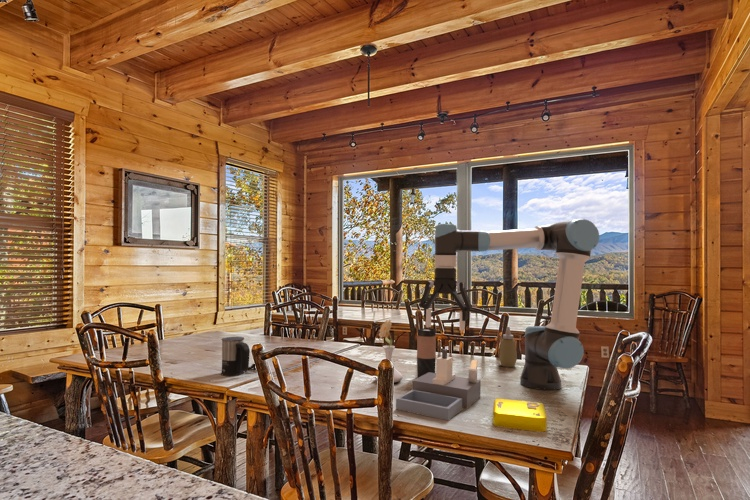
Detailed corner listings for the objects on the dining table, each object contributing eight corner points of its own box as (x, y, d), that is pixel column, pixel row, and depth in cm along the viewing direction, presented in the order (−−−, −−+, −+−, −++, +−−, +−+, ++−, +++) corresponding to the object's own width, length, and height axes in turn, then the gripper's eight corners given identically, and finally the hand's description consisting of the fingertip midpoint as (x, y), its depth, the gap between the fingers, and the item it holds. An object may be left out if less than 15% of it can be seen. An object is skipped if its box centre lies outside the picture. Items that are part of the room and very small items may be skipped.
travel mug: (434, 381, 177) (435, 331, 177) (415, 379, 178) (416, 330, 179) (436, 376, 184) (436, 328, 185) (417, 375, 186) (418, 327, 186)
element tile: (494, 411, 143) (494, 396, 143) (543, 416, 139) (543, 401, 139) (492, 427, 129) (492, 411, 129) (547, 434, 124) (547, 417, 124)
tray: (462, 409, 143) (462, 398, 143) (448, 420, 133) (448, 408, 133) (412, 399, 152) (412, 389, 152) (396, 409, 142) (396, 398, 142)
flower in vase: (374, 377, 181) (375, 316, 182) (402, 377, 181) (402, 317, 181) (373, 386, 168) (374, 320, 169) (403, 386, 168) (404, 321, 168)
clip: (477, 383, 152) (477, 371, 152) (468, 382, 152) (468, 370, 153) (478, 371, 169) (478, 360, 169) (470, 370, 169) (470, 359, 170)
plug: (455, 386, 158) (455, 347, 159) (443, 394, 149) (444, 352, 149) (444, 384, 160) (445, 346, 161) (432, 392, 151) (433, 351, 151)
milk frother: (215, 375, 181) (216, 339, 181) (238, 366, 196) (238, 333, 196) (246, 378, 177) (246, 341, 177) (266, 369, 192) (267, 335, 192)
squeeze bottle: (519, 365, 206) (519, 326, 206) (514, 368, 199) (514, 329, 199) (501, 363, 210) (502, 325, 210) (496, 366, 203) (497, 327, 204)
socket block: (480, 397, 156) (480, 380, 156) (467, 408, 144) (467, 389, 144) (428, 388, 166) (428, 372, 167) (412, 397, 154) (412, 380, 155)
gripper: (482, 268, 153) (481, 330, 152) (419, 266, 165) (418, 324, 165) (475, 268, 146) (474, 333, 146) (410, 266, 159) (409, 326, 158)
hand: (444, 328), depth 155 cm, fingers open, 12 cm apart
